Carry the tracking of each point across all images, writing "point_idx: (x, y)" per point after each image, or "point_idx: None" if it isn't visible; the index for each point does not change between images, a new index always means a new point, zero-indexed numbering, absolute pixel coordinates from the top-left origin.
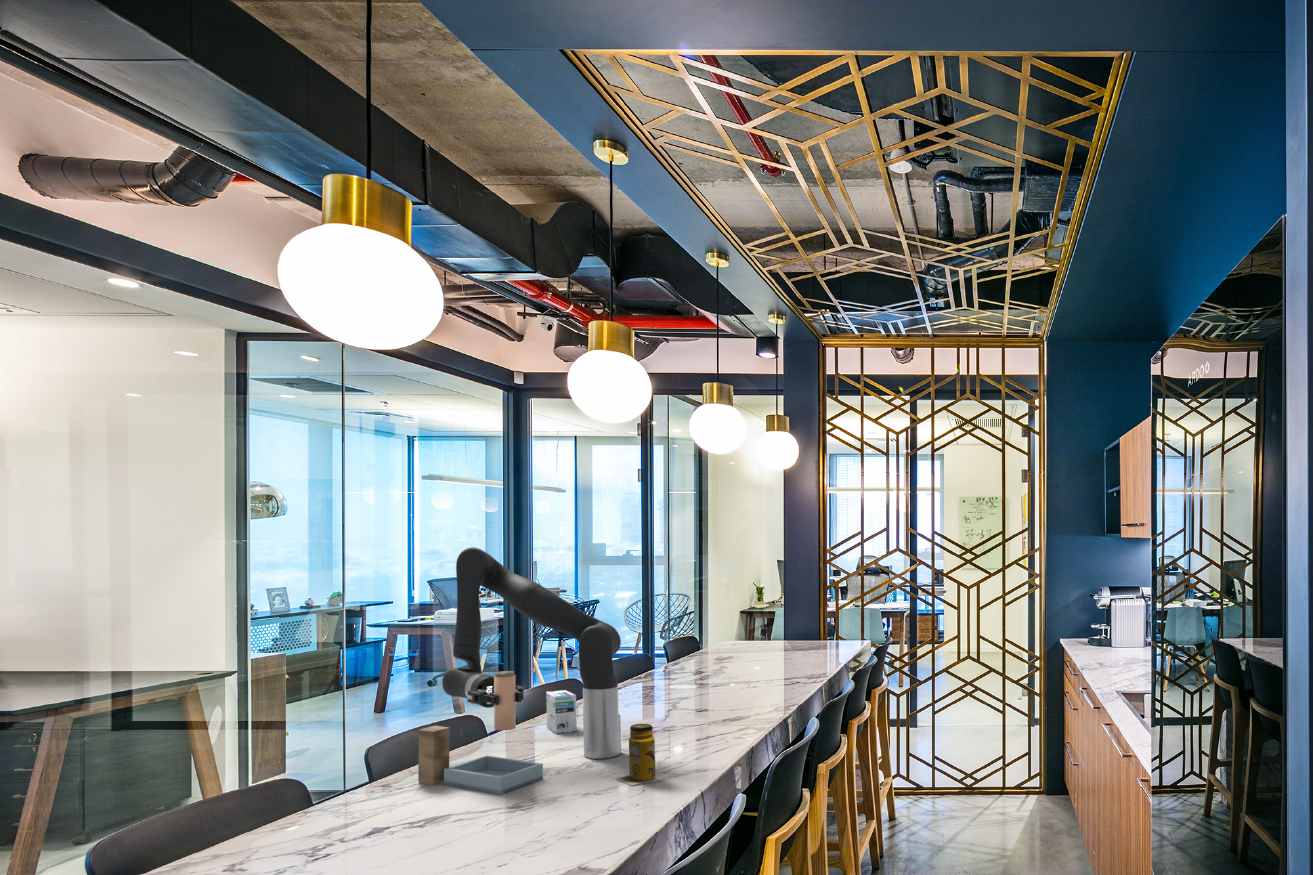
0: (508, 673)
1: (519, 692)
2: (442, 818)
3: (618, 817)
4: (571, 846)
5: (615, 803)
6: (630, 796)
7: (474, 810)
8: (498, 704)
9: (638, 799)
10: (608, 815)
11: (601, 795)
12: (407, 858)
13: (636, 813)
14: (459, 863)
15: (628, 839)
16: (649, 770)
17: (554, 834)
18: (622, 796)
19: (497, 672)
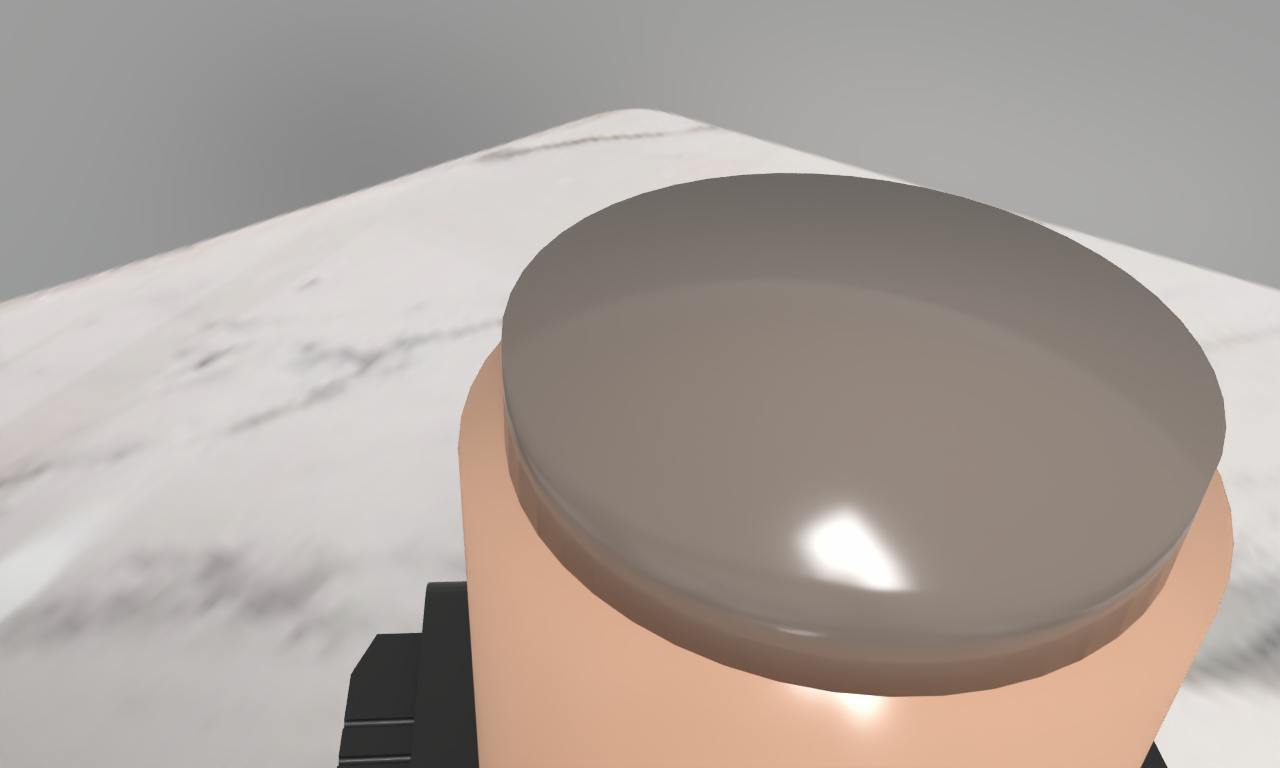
0: (778, 176)
1: (457, 599)
2: (1223, 629)
3: (397, 293)
4: None
5: (276, 410)
6: (127, 452)
7: None
8: None
9: (141, 404)
10: (415, 322)
11: (231, 534)
12: (1277, 318)
13: (304, 294)
14: (1074, 235)
15: (504, 172)
16: None
17: None
18: (158, 470)
19: (1135, 432)
